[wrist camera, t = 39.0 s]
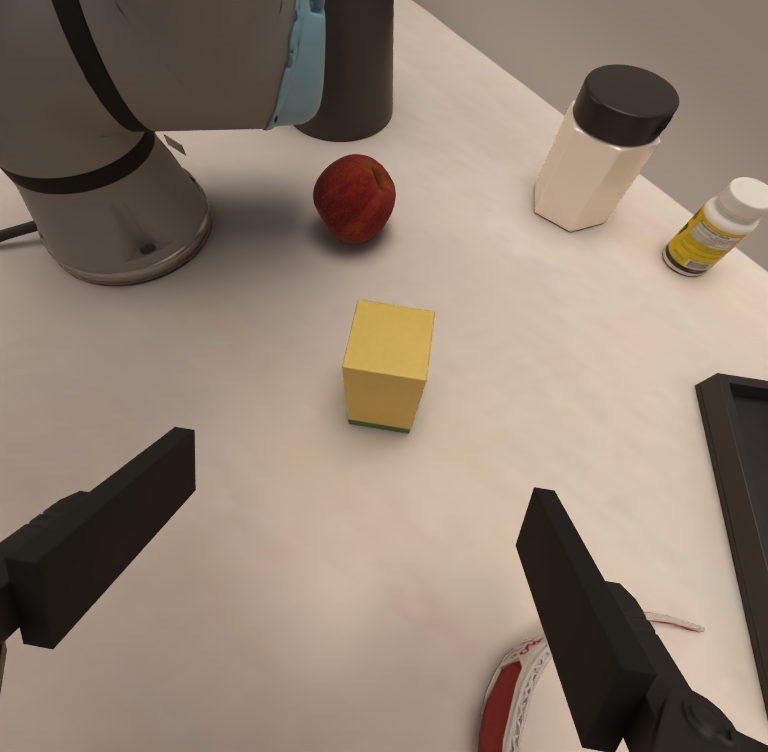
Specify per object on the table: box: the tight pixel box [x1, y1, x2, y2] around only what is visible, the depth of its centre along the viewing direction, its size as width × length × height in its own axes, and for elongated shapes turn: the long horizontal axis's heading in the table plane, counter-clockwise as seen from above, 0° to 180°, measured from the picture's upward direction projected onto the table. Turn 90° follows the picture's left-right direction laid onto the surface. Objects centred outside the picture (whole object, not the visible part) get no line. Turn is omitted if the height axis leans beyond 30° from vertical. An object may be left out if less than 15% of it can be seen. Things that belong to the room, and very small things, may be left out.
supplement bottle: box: [663, 177, 768, 276], centre depth 38 cm, size 5×5×8 cm
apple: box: [313, 154, 396, 243], centre depth 38 cm, size 7×8×8 cm
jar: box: [535, 65, 679, 232], centre depth 39 cm, size 9×8×12 cm
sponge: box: [342, 300, 435, 433], centre depth 28 cm, size 5×5×10 cm
